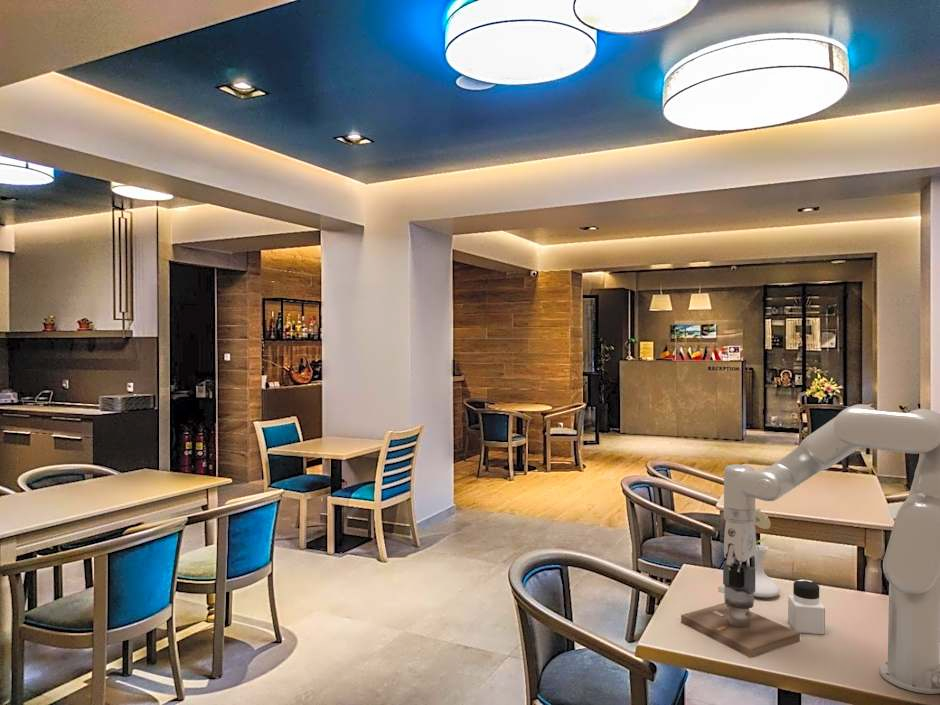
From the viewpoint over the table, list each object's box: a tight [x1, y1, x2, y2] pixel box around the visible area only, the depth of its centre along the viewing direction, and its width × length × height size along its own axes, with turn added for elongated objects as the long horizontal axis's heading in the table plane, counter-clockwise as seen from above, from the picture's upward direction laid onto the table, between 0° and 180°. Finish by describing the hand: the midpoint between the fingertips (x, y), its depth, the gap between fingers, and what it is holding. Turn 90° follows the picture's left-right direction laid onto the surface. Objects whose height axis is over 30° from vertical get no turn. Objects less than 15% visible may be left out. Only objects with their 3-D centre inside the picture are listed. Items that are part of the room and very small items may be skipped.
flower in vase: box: [753, 507, 781, 598], centre depth 197 cm, size 13×11×25 cm
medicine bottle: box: [787, 579, 826, 635], centre depth 174 cm, size 7×7×12 cm
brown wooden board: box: [680, 602, 801, 659], centre depth 172 cm, size 22×18×7 cm
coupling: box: [717, 560, 755, 610], centre depth 172 cm, size 10×7×10 cm
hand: (738, 583), depth 172 cm, fingers closed on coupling, 3 cm apart
